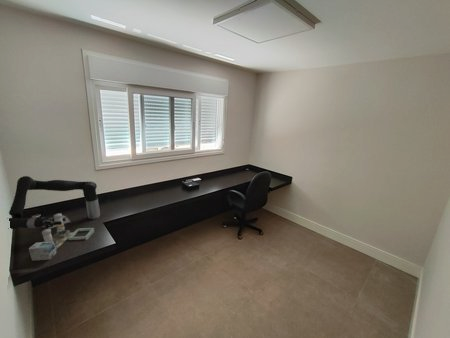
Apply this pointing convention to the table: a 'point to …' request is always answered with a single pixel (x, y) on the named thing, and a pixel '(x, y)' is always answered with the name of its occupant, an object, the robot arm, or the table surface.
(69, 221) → the gadget
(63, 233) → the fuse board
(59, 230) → the fuse marked
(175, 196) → the table surface
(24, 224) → the robot arm
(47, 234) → the fuse
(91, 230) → the tray
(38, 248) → the light bulb box
